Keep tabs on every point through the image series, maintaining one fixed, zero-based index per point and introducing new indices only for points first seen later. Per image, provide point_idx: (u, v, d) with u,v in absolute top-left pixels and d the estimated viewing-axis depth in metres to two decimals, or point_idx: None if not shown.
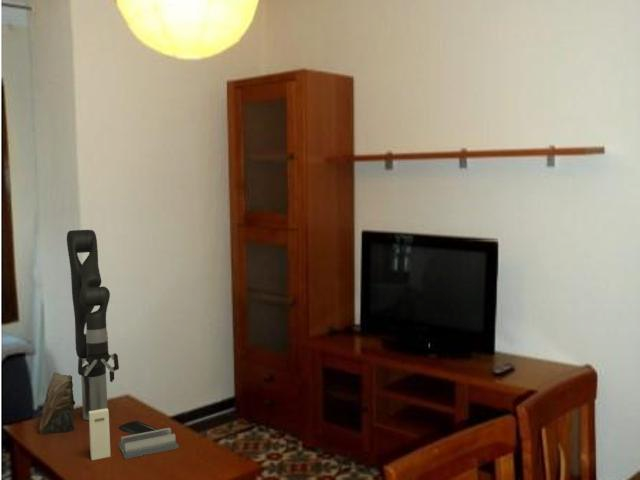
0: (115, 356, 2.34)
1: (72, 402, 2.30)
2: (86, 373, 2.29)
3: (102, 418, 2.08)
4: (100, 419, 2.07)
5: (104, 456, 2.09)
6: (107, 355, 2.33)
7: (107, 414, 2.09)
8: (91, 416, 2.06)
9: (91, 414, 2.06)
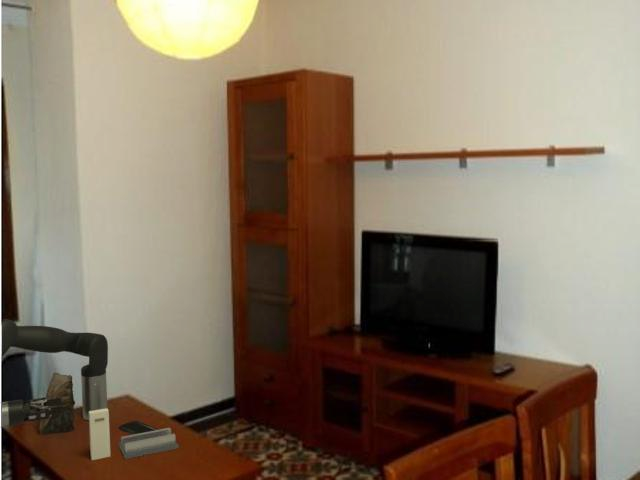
0: None
1: (72, 402, 2.30)
2: (45, 406, 2.05)
3: (102, 418, 2.08)
4: (100, 419, 2.07)
5: (104, 456, 2.09)
6: None
7: (107, 414, 2.09)
8: (91, 416, 2.06)
9: (91, 414, 2.06)
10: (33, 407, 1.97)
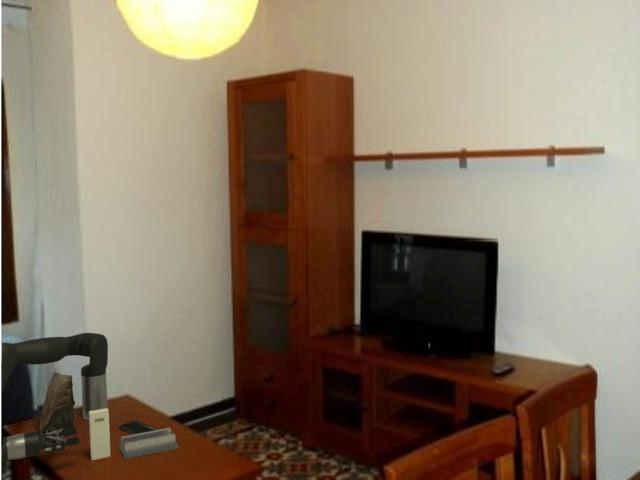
0: None
1: (72, 402, 2.30)
2: None
3: (102, 418, 2.08)
4: (100, 419, 2.07)
5: (104, 456, 2.09)
6: None
7: (107, 414, 2.09)
8: (91, 416, 2.06)
9: (91, 414, 2.06)
10: (49, 438, 2.00)
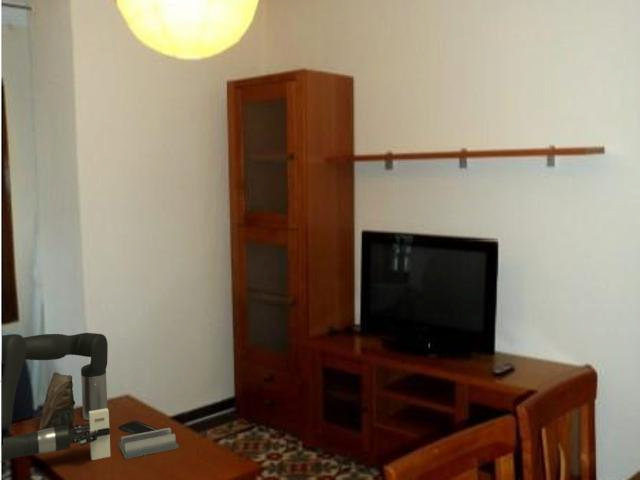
0: None
1: (72, 402, 2.30)
2: None
3: (102, 418, 2.08)
4: (100, 419, 2.07)
5: (104, 456, 2.09)
6: None
7: (107, 414, 2.09)
8: (91, 416, 2.06)
9: (91, 414, 2.06)
10: (79, 432, 2.04)
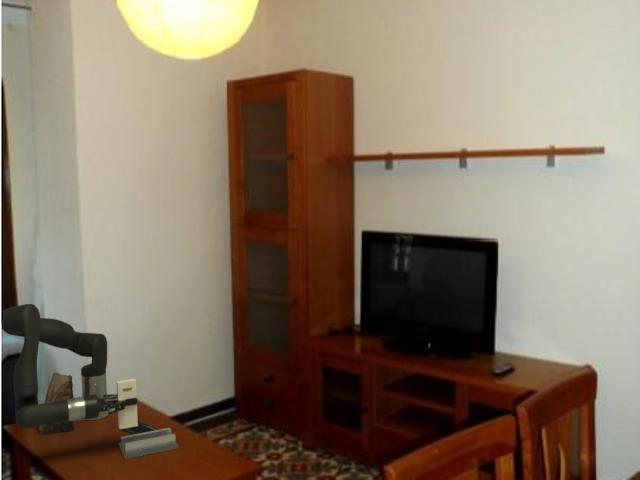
0: None
1: None
2: None
3: (130, 388, 2.11)
4: (128, 389, 2.11)
5: (131, 425, 2.13)
6: None
7: (135, 384, 2.12)
8: (119, 386, 2.10)
9: (119, 384, 2.10)
10: (108, 401, 2.08)
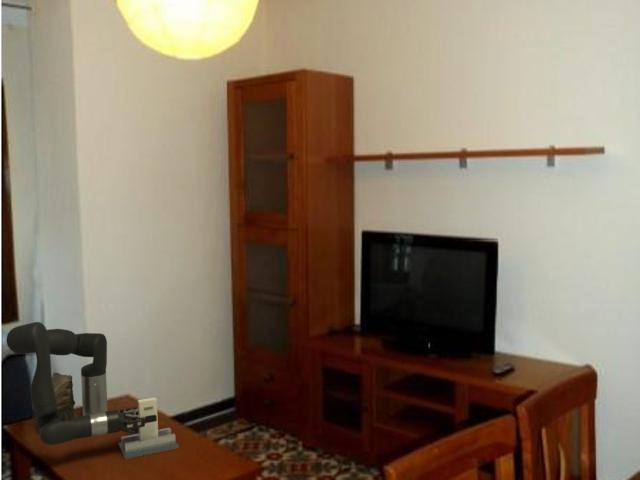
0: None
1: (72, 402, 2.30)
2: None
3: (151, 407, 2.15)
4: (149, 408, 2.15)
5: None
6: None
7: (155, 403, 2.16)
8: (140, 405, 2.13)
9: (140, 403, 2.13)
10: (128, 416, 2.11)
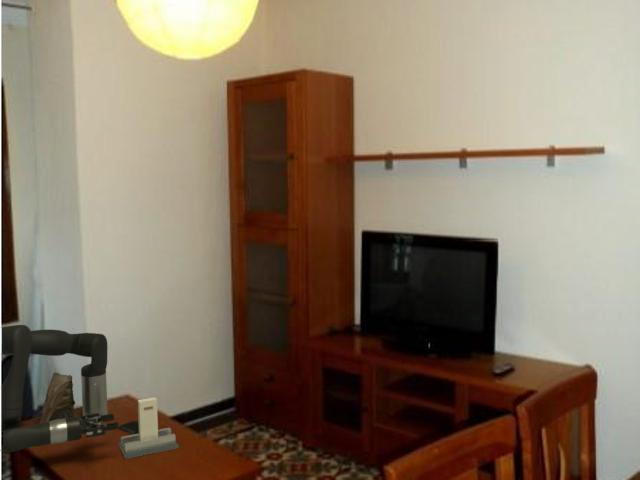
0: None
1: (72, 402, 2.30)
2: None
3: (151, 407, 2.15)
4: (149, 408, 2.15)
5: None
6: None
7: (155, 403, 2.16)
8: (140, 405, 2.13)
9: (140, 403, 2.13)
10: (89, 423, 2.05)
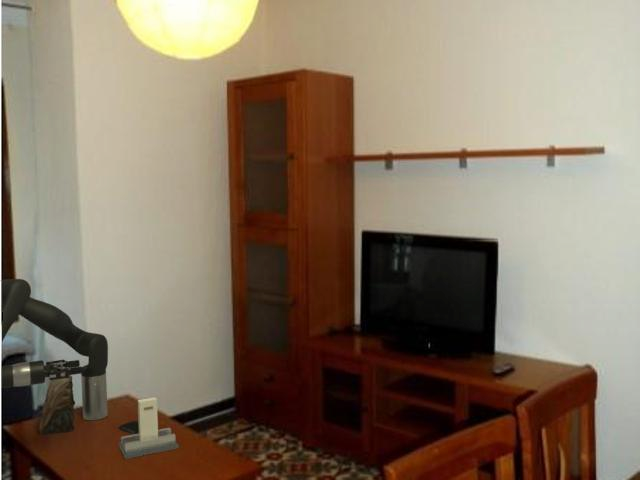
0: None
1: (72, 402, 2.30)
2: (64, 368, 2.13)
3: (151, 407, 2.15)
4: (149, 408, 2.15)
5: None
6: (49, 376, 2.04)
7: (155, 403, 2.16)
8: (140, 405, 2.13)
9: (140, 403, 2.13)
10: (53, 367, 2.05)
